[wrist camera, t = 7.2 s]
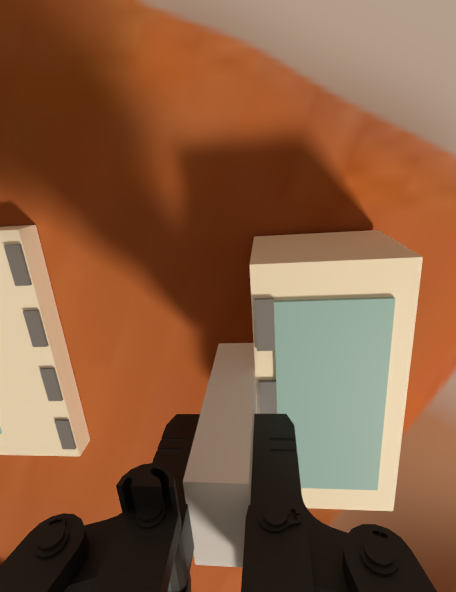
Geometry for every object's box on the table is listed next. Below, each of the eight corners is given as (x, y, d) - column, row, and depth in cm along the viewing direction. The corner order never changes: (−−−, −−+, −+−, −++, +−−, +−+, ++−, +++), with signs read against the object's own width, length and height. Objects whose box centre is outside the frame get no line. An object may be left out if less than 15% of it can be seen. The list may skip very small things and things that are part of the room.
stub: (263, 429, 18) (262, 509, 14) (254, 236, 15) (249, 266, 11) (364, 430, 18) (394, 514, 14) (378, 230, 14) (425, 258, 10)
